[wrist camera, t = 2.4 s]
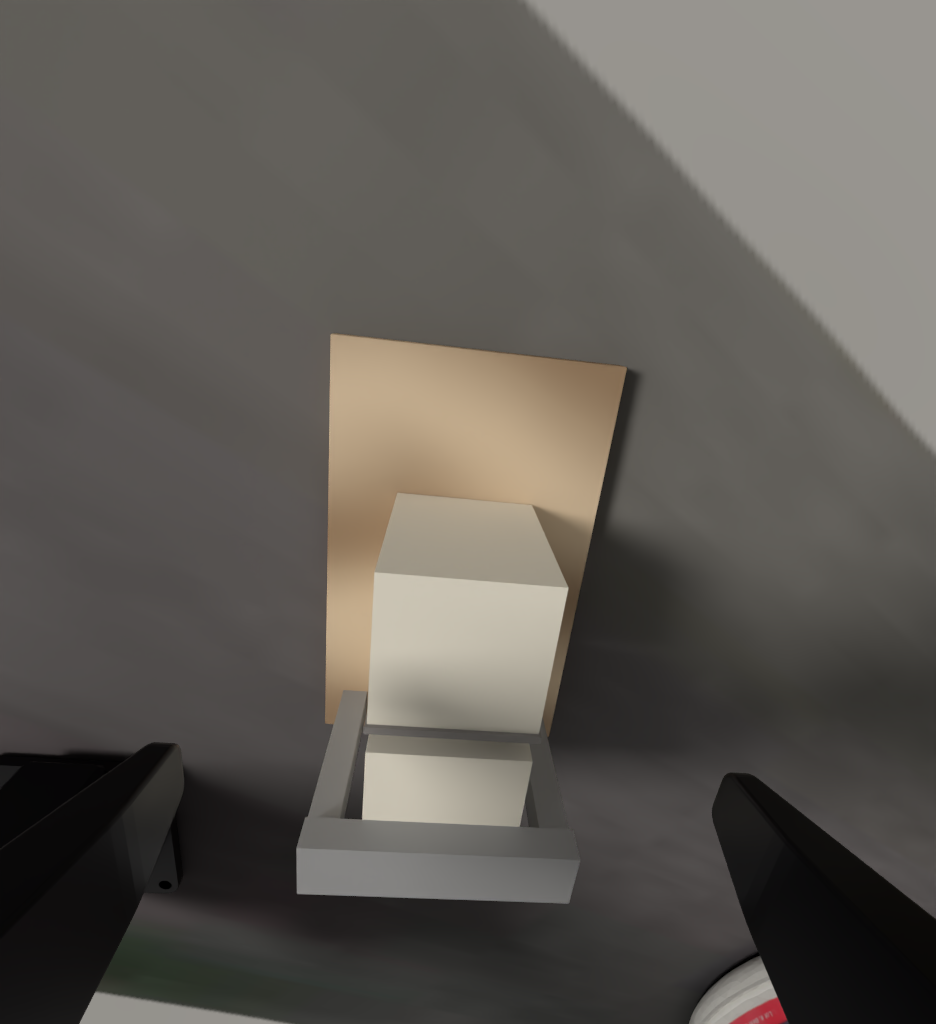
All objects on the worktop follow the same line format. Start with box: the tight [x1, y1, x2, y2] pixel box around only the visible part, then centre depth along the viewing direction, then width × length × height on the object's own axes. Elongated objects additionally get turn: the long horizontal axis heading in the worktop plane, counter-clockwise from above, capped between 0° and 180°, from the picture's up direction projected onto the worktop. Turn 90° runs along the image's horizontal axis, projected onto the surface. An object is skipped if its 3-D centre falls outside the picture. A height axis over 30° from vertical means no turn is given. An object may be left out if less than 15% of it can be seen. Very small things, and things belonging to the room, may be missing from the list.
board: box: [325, 333, 627, 737], centre depth 16 cm, size 13×8×1 cm, turn 174°
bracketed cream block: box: [296, 690, 580, 903], centre depth 15 cm, size 4×7×6 cm, turn 84°
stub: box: [364, 493, 568, 744], centre depth 13 cm, size 4×4×5 cm
